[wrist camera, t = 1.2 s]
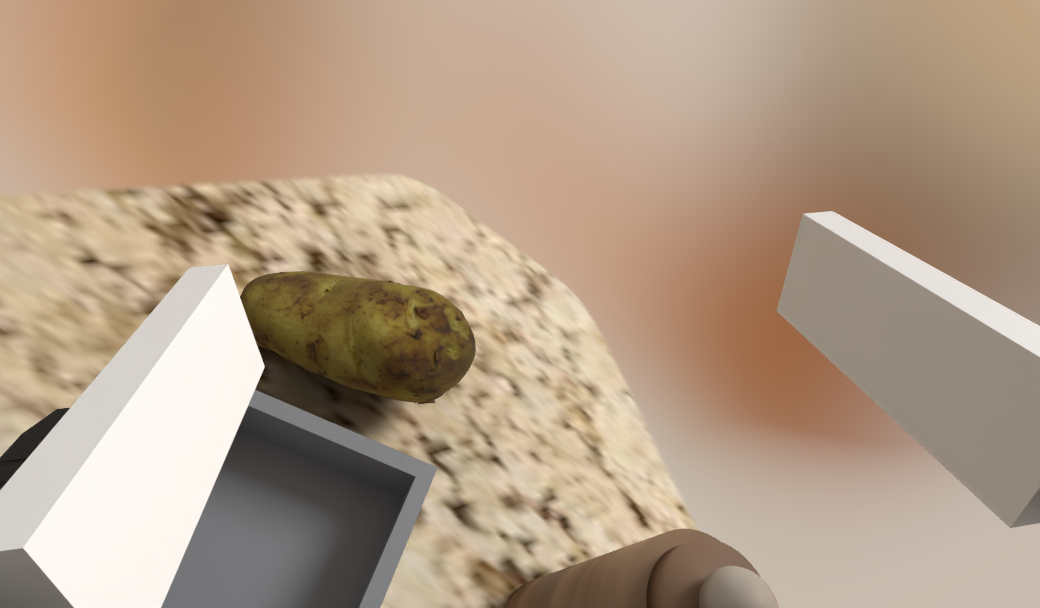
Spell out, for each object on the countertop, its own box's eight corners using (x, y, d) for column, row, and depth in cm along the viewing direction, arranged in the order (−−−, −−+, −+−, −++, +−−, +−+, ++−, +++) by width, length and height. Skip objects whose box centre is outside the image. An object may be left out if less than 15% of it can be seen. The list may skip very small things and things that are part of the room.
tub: (26, 663, 21) (-38, 663, 17) (216, 407, 28) (202, 367, 25) (306, 765, 22) (305, 788, 18) (420, 493, 29) (437, 467, 26)
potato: (331, 259, 36) (336, 174, 30) (473, 380, 34) (510, 318, 28) (221, 332, 31) (199, 248, 25) (383, 478, 29) (403, 428, 23)
